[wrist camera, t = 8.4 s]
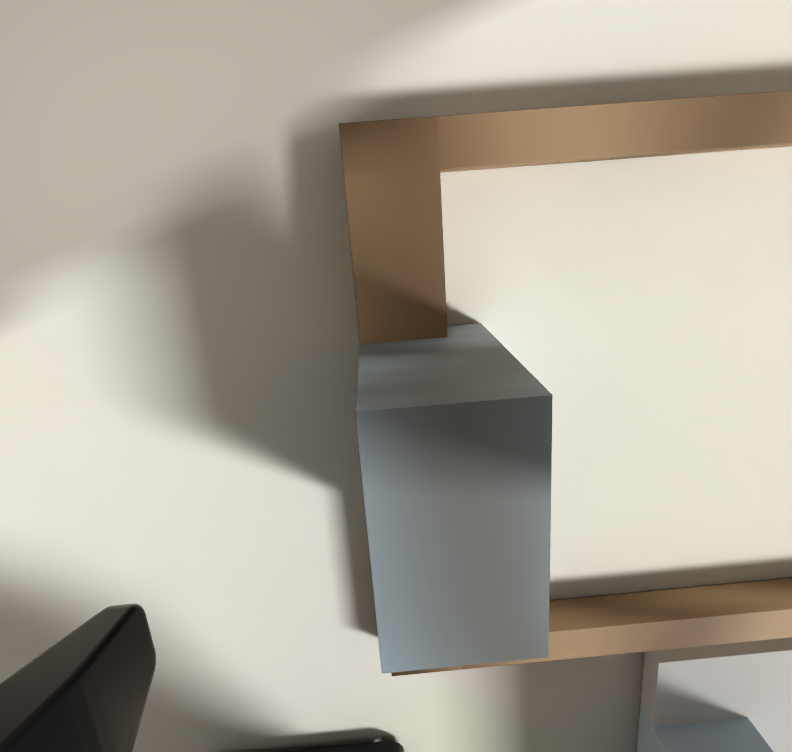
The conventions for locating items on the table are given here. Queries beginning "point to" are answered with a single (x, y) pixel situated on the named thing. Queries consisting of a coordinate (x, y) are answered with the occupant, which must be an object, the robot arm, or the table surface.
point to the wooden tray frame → (499, 403)
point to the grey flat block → (718, 698)
